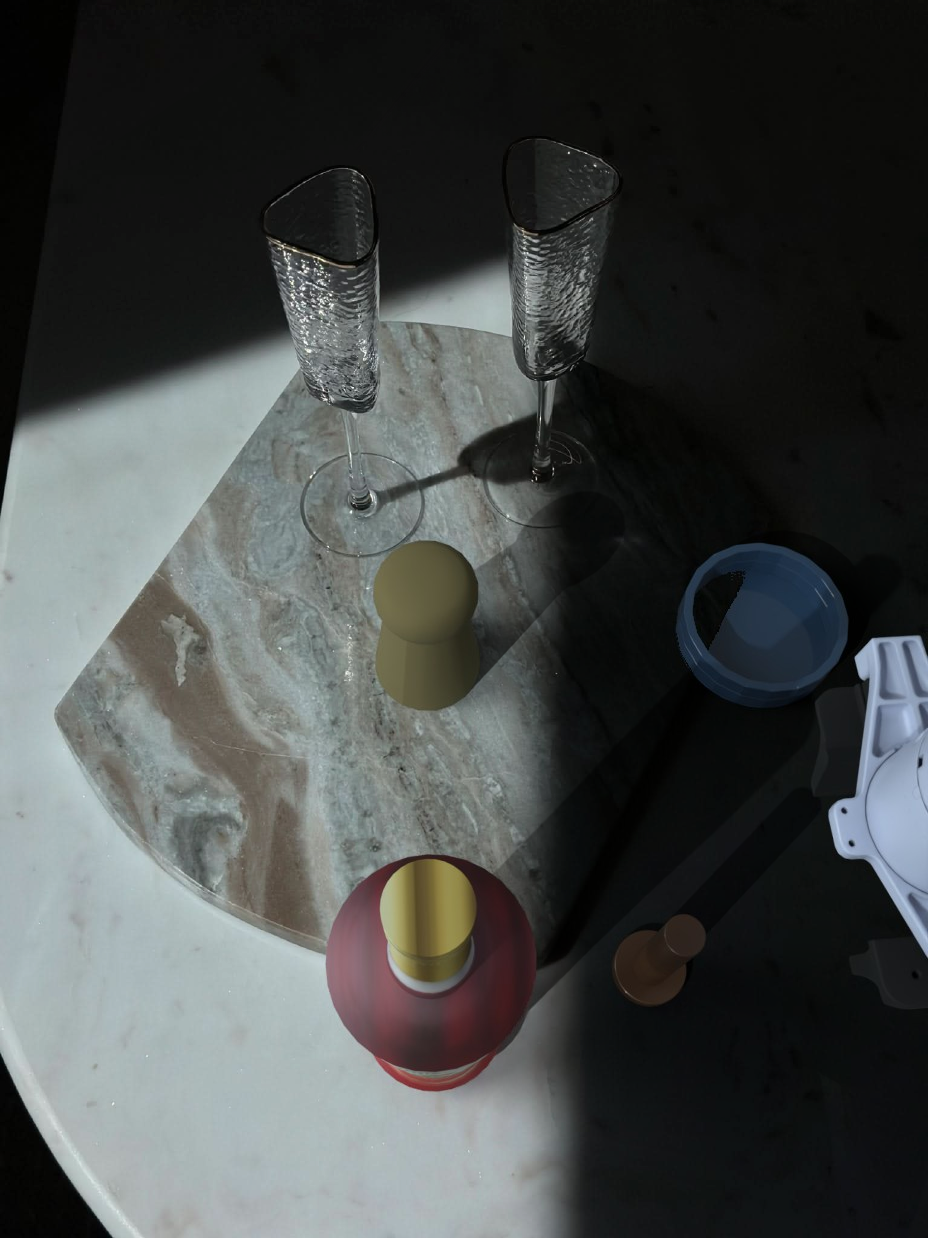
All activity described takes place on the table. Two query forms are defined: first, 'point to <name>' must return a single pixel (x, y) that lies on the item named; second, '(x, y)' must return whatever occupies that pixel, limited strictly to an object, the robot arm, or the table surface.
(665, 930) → the pestle
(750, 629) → the bowl
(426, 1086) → the liquor
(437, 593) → the cork
